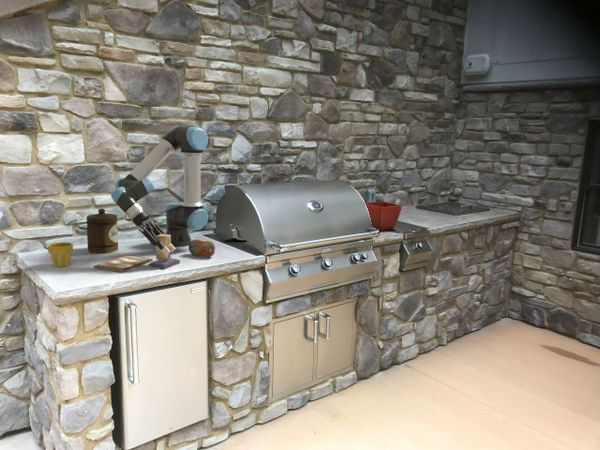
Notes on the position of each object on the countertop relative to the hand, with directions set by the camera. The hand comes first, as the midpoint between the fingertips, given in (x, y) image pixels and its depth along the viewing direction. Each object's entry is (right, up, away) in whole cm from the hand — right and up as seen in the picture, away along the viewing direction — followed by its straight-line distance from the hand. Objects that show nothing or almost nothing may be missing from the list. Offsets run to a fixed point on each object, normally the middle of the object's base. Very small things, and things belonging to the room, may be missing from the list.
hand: (170, 252), depth 231 cm
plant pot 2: (+117, +10, +106) cm, 158 cm away
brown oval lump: (+11, -3, +20) cm, 23 cm away
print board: (-22, -6, +1) cm, 23 cm away
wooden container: (-42, -1, +25) cm, 49 cm away
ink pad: (-4, -6, +2) cm, 8 cm away
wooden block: (-4, -3, +1) cm, 5 cm away
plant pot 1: (-50, -6, -4) cm, 50 cm away
